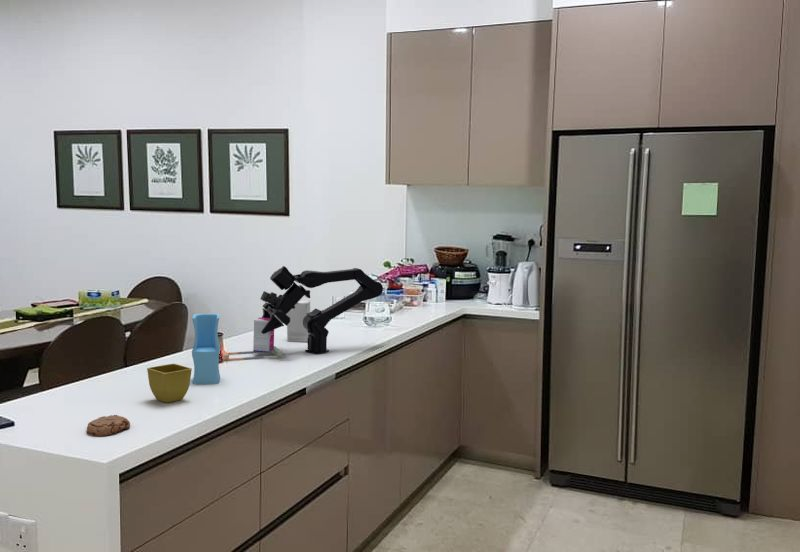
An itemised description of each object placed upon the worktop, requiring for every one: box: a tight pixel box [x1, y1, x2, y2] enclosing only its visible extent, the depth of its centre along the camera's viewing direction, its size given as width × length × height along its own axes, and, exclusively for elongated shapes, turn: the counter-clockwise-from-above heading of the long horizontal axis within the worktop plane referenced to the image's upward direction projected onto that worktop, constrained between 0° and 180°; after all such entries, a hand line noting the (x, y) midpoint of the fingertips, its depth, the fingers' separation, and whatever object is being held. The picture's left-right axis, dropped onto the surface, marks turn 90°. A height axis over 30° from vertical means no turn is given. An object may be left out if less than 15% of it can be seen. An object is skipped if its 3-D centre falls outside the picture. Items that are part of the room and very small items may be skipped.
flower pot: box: [146, 363, 192, 404], centre depth 202 cm, size 9×9×9 cm
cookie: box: [86, 414, 131, 437], centre depth 176 cm, size 10×11×3 cm
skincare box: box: [286, 300, 311, 343], centre depth 286 cm, size 8×7×16 cm
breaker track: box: [221, 345, 283, 362], centre depth 258 cm, size 20×10×2 cm, turn 114°
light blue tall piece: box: [191, 313, 221, 385], centre depth 223 cm, size 8×8×20 cm
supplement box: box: [252, 316, 275, 354], centre depth 259 cm, size 6×6×12 cm
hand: (259, 331), depth 259 cm, fingers closed on supplement box, 8 cm apart
